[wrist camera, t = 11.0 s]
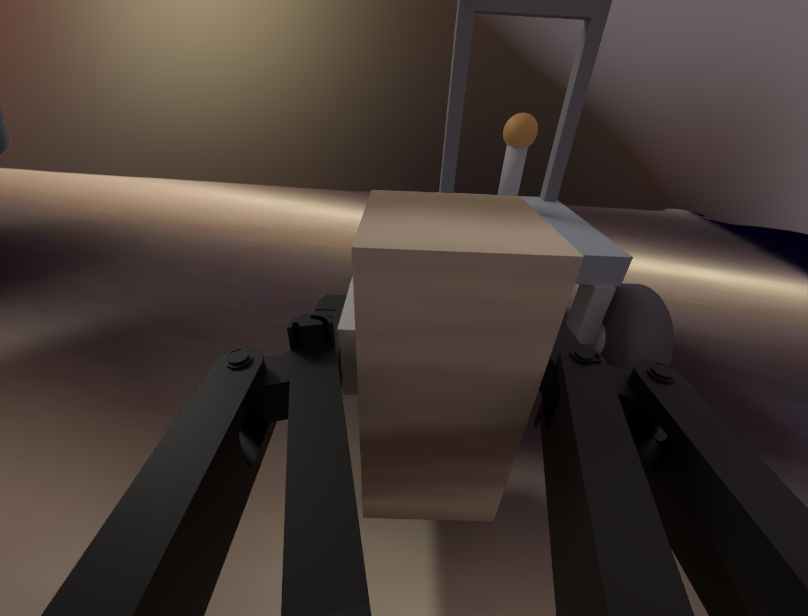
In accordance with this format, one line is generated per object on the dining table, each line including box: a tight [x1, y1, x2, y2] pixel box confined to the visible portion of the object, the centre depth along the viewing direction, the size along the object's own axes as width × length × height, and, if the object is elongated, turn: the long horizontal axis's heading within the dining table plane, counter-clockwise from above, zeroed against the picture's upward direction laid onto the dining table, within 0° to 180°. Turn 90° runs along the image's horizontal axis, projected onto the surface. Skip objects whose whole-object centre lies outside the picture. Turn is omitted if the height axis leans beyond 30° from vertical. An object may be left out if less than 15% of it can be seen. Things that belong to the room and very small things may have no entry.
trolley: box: [436, 0, 674, 370], centre depth 22 cm, size 15×15×22 cm
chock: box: [352, 190, 584, 521], centre depth 12 cm, size 5×5×11 cm
